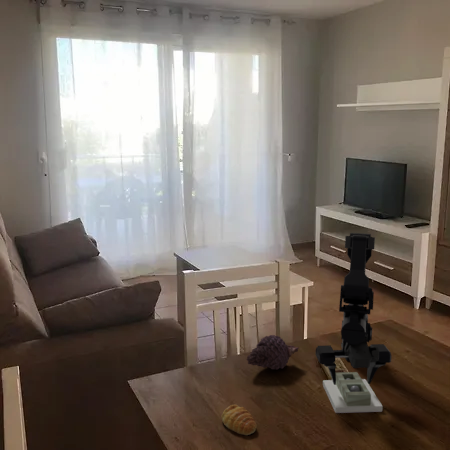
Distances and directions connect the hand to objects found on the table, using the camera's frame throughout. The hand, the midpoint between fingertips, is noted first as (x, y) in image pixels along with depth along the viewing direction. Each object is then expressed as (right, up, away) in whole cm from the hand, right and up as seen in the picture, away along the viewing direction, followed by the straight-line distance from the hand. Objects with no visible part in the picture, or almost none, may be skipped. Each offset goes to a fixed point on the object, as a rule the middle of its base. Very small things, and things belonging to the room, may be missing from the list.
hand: (351, 383), depth 138 cm
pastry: (-30, -7, -11) cm, 33 cm away
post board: (0, -4, +1) cm, 4 cm away
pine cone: (-20, -1, +18) cm, 26 cm away
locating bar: (0, -3, 0) cm, 3 cm away
